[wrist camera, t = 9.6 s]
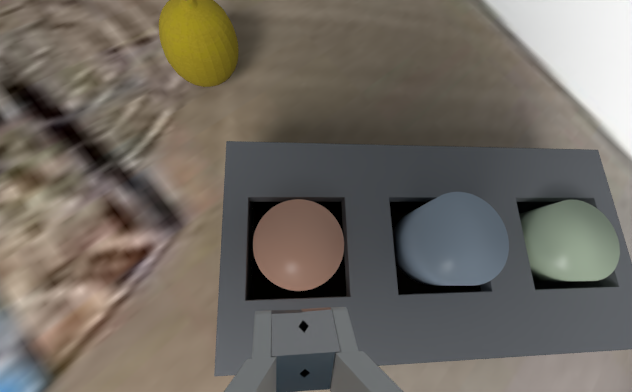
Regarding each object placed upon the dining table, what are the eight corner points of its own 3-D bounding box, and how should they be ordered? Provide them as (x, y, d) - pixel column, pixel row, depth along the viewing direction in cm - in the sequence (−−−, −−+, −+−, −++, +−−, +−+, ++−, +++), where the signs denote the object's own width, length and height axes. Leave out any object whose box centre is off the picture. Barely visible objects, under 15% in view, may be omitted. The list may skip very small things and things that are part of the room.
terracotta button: (257, 291, 19) (251, 292, 15) (258, 215, 20) (253, 199, 16) (333, 288, 19) (346, 289, 15) (329, 215, 20) (341, 199, 17)
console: (236, 345, 22) (214, 376, 15) (242, 184, 25) (226, 141, 18) (541, 328, 25) (656, 347, 17) (511, 186, 28) (597, 149, 21)
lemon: (225, 43, 29) (206, -44, 21) (254, 89, 28) (245, 15, 20) (168, 65, 28) (126, -19, 20) (196, 114, 27) (163, 46, 19)
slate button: (394, 286, 18) (425, 287, 14) (387, 209, 19) (414, 191, 16) (468, 284, 19) (517, 284, 15) (456, 209, 20) (499, 191, 16)
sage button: (503, 282, 21) (555, 282, 17) (491, 214, 22) (536, 199, 18) (566, 280, 21) (630, 279, 17) (550, 214, 22) (606, 199, 18)
